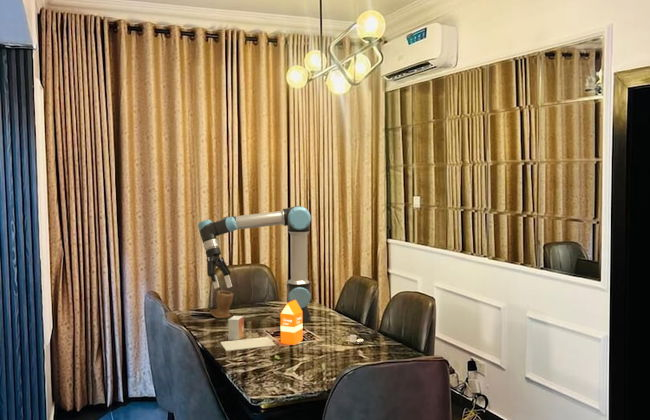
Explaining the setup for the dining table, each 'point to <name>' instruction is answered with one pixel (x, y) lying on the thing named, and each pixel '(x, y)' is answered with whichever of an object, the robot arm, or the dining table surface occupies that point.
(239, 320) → the small box
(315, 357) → the dining table surface
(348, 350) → the dining table surface
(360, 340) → the teacup and saucer
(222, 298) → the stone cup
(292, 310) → the orange juice
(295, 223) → the robot arm
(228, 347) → the mat
